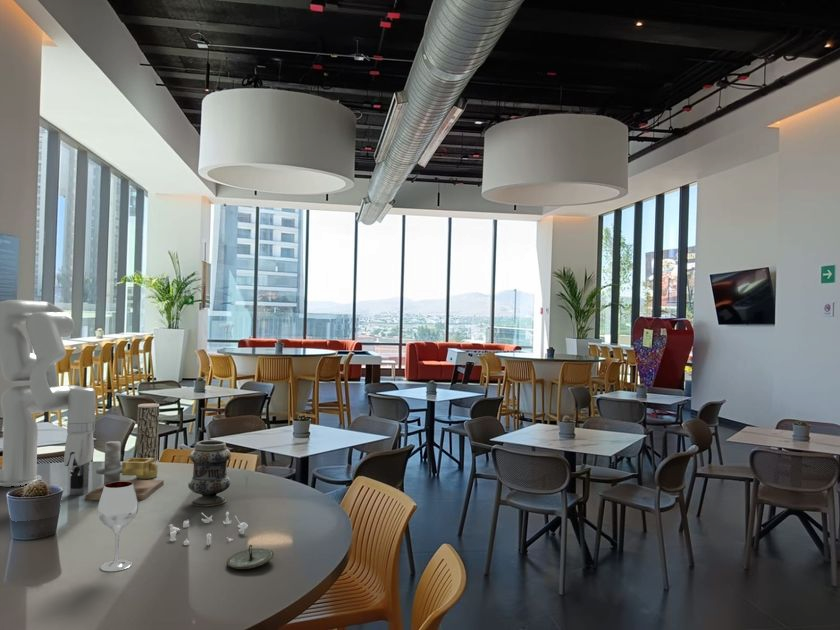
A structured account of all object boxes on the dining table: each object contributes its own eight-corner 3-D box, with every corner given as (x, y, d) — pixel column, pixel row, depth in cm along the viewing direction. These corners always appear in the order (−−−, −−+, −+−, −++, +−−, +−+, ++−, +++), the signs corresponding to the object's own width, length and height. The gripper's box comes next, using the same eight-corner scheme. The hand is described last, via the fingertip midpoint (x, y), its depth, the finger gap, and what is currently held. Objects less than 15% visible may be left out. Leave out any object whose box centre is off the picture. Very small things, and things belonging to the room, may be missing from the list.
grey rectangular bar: (69, 494, 195) (70, 458, 195) (74, 491, 198) (75, 456, 198) (83, 494, 195) (84, 459, 195) (88, 492, 198) (89, 456, 199)
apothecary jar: (236, 497, 196) (237, 439, 196) (220, 509, 184) (221, 446, 184) (198, 495, 197) (200, 437, 197) (180, 506, 185) (182, 445, 185)
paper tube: (135, 475, 220) (137, 403, 220) (156, 474, 223) (158, 403, 223) (136, 480, 214) (138, 406, 214) (157, 478, 217) (159, 405, 217)
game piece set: (261, 527, 170) (261, 512, 170) (218, 552, 151) (218, 536, 151) (198, 519, 175) (198, 505, 175) (149, 543, 156) (149, 527, 156)
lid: (279, 573, 142) (284, 550, 143) (241, 573, 135) (246, 549, 137) (255, 562, 150) (259, 540, 151) (217, 561, 143) (222, 538, 144)
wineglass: (125, 556, 146) (128, 478, 146) (143, 565, 141) (145, 484, 141) (89, 566, 140) (91, 484, 140) (106, 576, 134) (108, 491, 135)
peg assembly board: (83, 499, 190) (85, 448, 190) (109, 484, 208) (110, 437, 208) (144, 500, 191) (145, 448, 191) (164, 484, 209) (165, 437, 209)
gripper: (80, 423, 205) (79, 480, 205) (55, 432, 189) (53, 493, 188) (104, 423, 205) (103, 480, 205) (81, 432, 189) (79, 494, 189)
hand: (79, 486), depth 197 cm, fingers closed on grey rectangular bar, 3 cm apart
